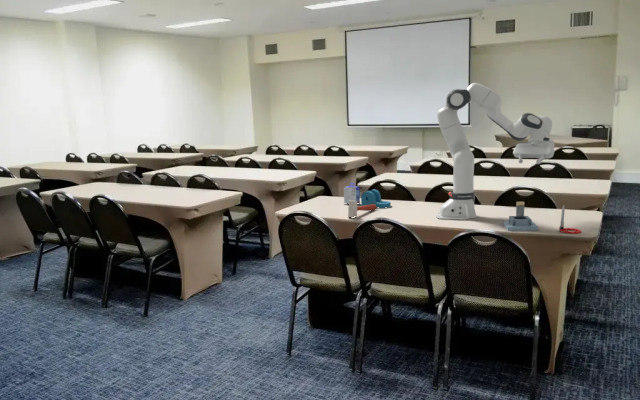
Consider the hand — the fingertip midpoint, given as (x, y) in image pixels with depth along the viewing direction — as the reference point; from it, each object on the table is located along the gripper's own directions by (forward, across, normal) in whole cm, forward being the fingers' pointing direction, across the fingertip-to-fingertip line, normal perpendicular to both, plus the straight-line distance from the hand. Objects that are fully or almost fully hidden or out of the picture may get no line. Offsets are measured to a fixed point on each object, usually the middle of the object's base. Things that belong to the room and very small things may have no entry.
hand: (528, 162), depth 268 cm
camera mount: (+26, -98, +19) cm, 103 cm away
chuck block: (+33, +2, +12) cm, 35 cm away
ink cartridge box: (+27, -118, +17) cm, 122 cm away
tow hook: (+30, +25, +15) cm, 42 cm away
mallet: (+43, -90, +2) cm, 100 cm away
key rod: (+31, +2, +10) cm, 33 cm away
